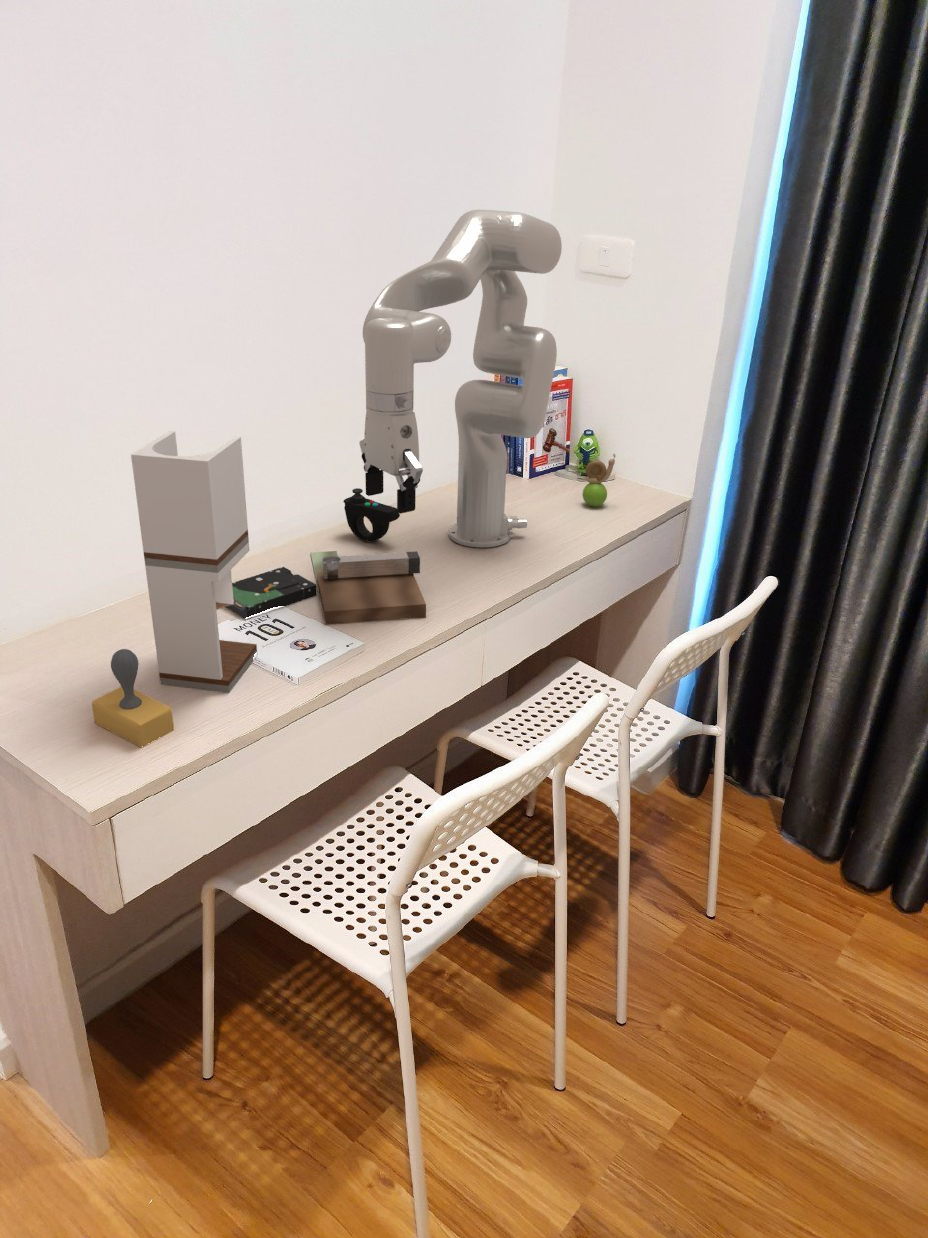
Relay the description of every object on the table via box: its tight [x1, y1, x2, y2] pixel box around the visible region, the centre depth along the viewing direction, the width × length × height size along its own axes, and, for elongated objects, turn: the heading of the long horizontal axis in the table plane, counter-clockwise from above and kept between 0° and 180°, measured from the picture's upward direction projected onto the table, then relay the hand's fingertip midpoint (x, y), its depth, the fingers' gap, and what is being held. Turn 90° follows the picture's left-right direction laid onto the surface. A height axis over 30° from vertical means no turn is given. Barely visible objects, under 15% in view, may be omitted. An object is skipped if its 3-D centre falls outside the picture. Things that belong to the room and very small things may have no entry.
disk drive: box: [225, 566, 318, 619], centre depth 170 cm, size 10×3×15 cm
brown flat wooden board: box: [310, 550, 427, 625], centre depth 176 cm, size 17×30×2 cm, turn 13°
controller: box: [343, 487, 401, 543], centre depth 193 cm, size 4×12×10 cm, turn 56°
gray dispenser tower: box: [130, 430, 258, 694], centre depth 140 cm, size 11×11×35 cm
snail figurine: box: [582, 453, 617, 507], centre depth 214 cm, size 5×6×12 cm
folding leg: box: [322, 551, 421, 579], centre depth 173 cm, size 17×3×3 cm, turn 103°
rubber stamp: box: [91, 648, 175, 748], centre depth 131 cm, size 10×6×12 cm, turn 55°
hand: (390, 502), depth 162 cm, fingers open, 9 cm apart
